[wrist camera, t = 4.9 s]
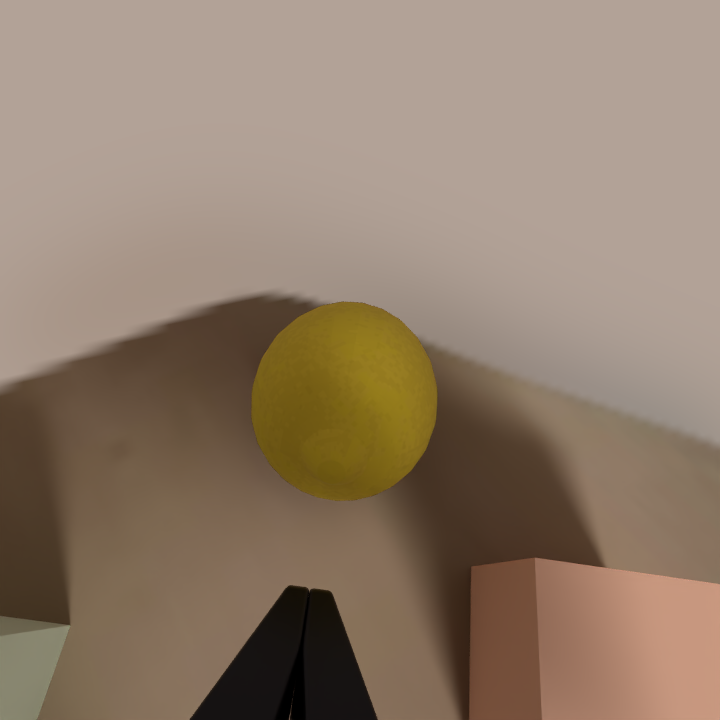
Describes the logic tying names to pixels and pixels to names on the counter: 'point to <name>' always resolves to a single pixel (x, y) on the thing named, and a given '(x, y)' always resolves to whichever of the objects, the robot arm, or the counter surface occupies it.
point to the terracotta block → (591, 644)
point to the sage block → (27, 664)
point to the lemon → (344, 401)
